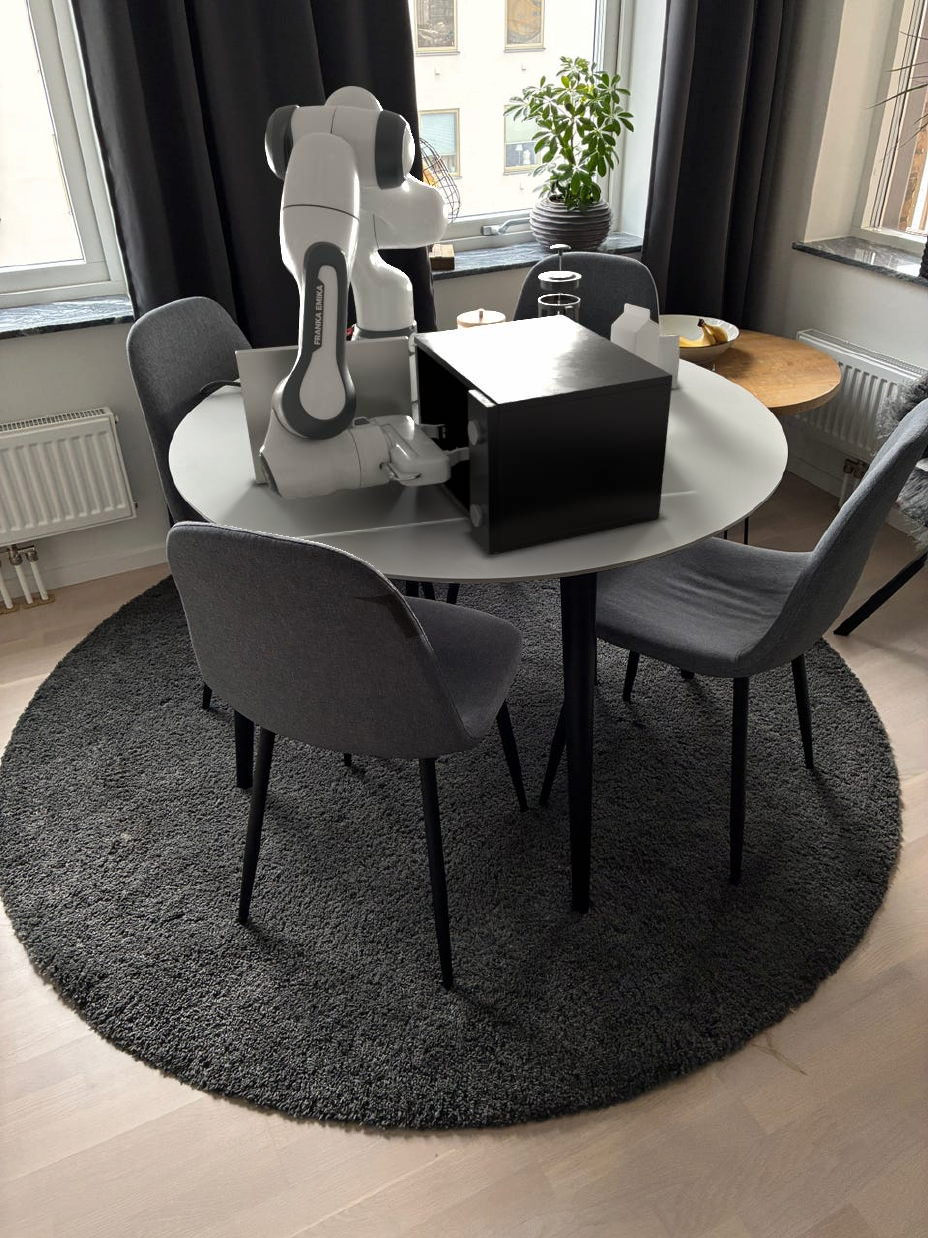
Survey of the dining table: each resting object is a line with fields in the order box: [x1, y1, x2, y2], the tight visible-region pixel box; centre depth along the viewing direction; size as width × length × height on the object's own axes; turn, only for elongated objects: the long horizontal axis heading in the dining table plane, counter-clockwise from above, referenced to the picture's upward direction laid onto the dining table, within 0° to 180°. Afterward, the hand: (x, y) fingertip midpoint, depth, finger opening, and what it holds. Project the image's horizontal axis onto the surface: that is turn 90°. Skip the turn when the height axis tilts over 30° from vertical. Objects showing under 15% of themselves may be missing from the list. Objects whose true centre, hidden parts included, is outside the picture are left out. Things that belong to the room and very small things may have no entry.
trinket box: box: [456, 308, 506, 330], centre depth 209 cm, size 11×11×9 cm
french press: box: [537, 244, 582, 324], centre depth 201 cm, size 12×9×23 cm
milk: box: [610, 302, 662, 366], centre depth 164 cm, size 6×6×22 cm
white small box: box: [657, 334, 681, 389], centre depth 187 cm, size 4×7×10 cm, turn 91°
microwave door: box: [235, 336, 414, 485], centre depth 153 cm, size 7×27×22 cm, turn 101°
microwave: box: [414, 314, 673, 555], centre depth 143 cm, size 28×34×22 cm
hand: (457, 440), depth 144 cm, fingers open, 8 cm apart
